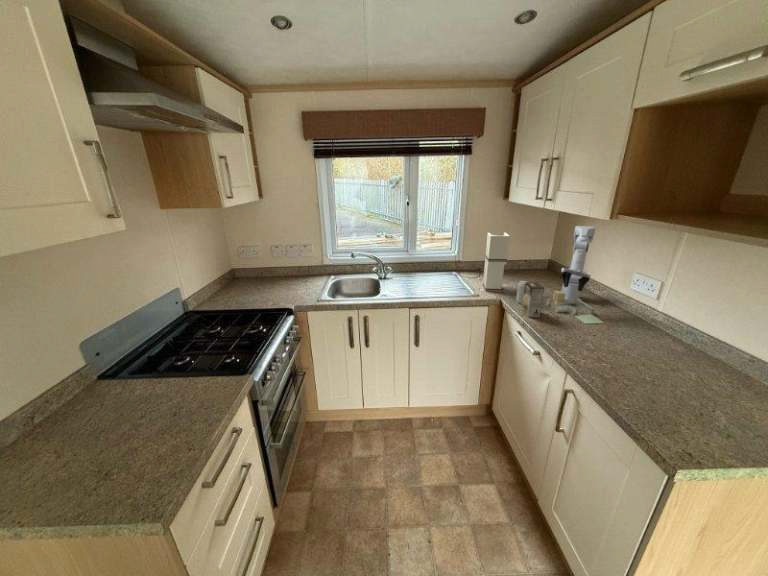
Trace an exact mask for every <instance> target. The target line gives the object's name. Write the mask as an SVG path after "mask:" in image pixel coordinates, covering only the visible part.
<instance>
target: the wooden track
mask: <svg viewBox="0 0 768 576" xmlns="http://www.w3.org/2000/svg"><path fill="white" fill-rule="evenodd" d="M552 300H553V298H547V299H546V305H547V306H551V305H552ZM581 300H582V299H581ZM581 300H579V299H578V298H565V300H564V305H556V310H555V309H554V310H555V313H568V314H570V316H574V315H576V311H577V309H576V308H575V307H573V306H576V307H577V308H579V309H581V310H582V311H584V312H585V313H586V314H587V315H593V316H594V313H595V312H594V311H595V308H594V307H592V306H591V305H589V304H588V303H586V302H584V301H581Z"/></svg>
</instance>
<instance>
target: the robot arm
mask: <svg viewBox="0 0 768 576" xmlns="http://www.w3.org/2000/svg"><path fill="white" fill-rule="evenodd" d="M596 227H597V226H588V225H587V226H586V225H576V226H575V227H574V233H573V242H574V245H573V250H572V259H571V263H570V267H569V268H566V267H562V268H561V271H560V272H561V274H560V275H561V278H562V280H563V281H562V282H563V284H562V285H561V286H562V287H561V291H562V292H563V293H565V294H566V295H565V298H578V299H579V300H581V301H582V299H581V298H580V293H581V292H582V291H583V289H584V287H585V286H586V284H587V283H588V282H589V281H590V279H591V274H588V273H587V270H585V268H584V267H585V262H586V258H587V253H588V252H589V248H590V244H591V243H592V242H593V240H594V237H595V236H594V235H595V233H596ZM582 302H583V301H582Z"/></svg>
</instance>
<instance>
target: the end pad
mask: <svg viewBox="0 0 768 576" xmlns="http://www.w3.org/2000/svg"><path fill="white" fill-rule="evenodd" d="M573 316H574V317H575V318H576V319H578V320H579V321H581V322H582V323H583V324H585V325H592V324H593V325H594V324H596V325H597V324H599V325H601V324H605V322H604V321H602V320H601V319H599V318H597V317H596V316H595V315H594V314H593V315H589V314H575V315H573Z"/></svg>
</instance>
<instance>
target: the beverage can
mask: <svg viewBox="0 0 768 576" xmlns="http://www.w3.org/2000/svg"><path fill="white" fill-rule="evenodd" d="M525 282H528V281H527V280H521V281H519V283H518V284H517V291H516V299H515V301H516V302H517V303H518V304H522V303H523V296H524V289H525Z"/></svg>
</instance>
